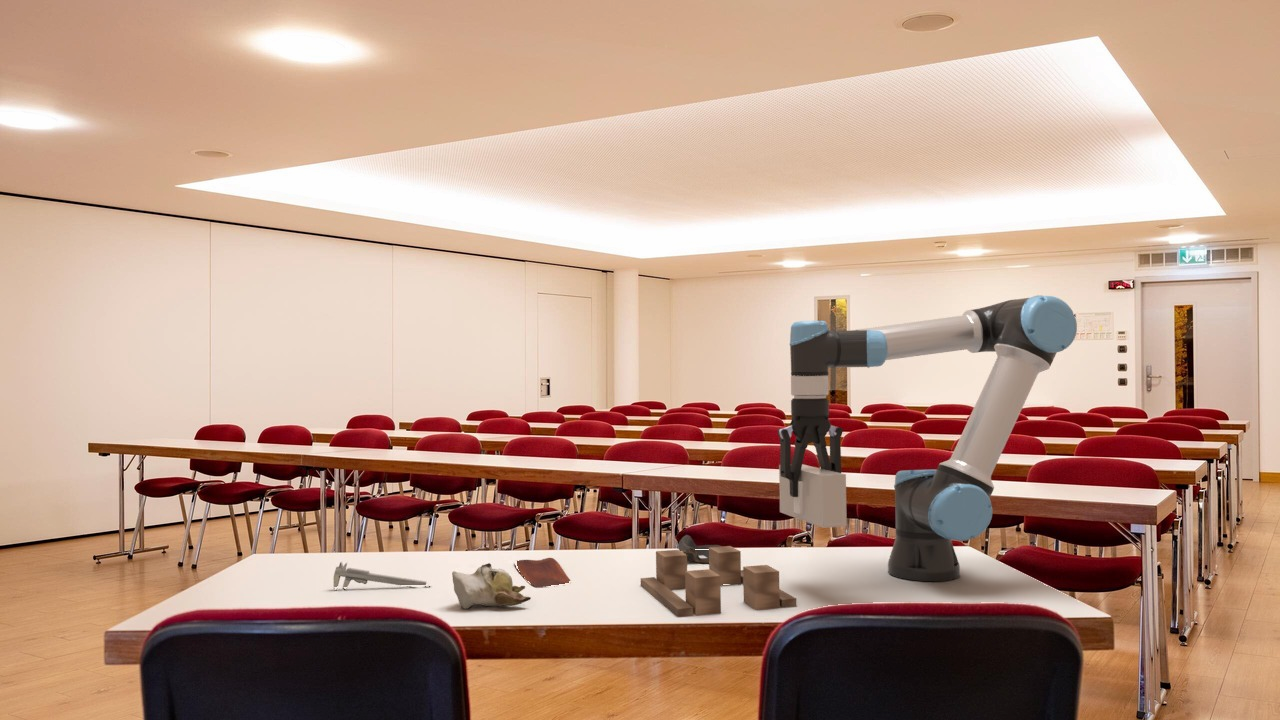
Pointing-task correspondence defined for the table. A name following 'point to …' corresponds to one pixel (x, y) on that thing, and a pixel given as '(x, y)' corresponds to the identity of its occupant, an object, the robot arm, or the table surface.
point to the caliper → (369, 577)
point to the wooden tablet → (542, 572)
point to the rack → (713, 583)
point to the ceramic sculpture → (487, 588)
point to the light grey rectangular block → (817, 497)
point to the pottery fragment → (695, 555)
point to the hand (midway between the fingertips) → (811, 511)
